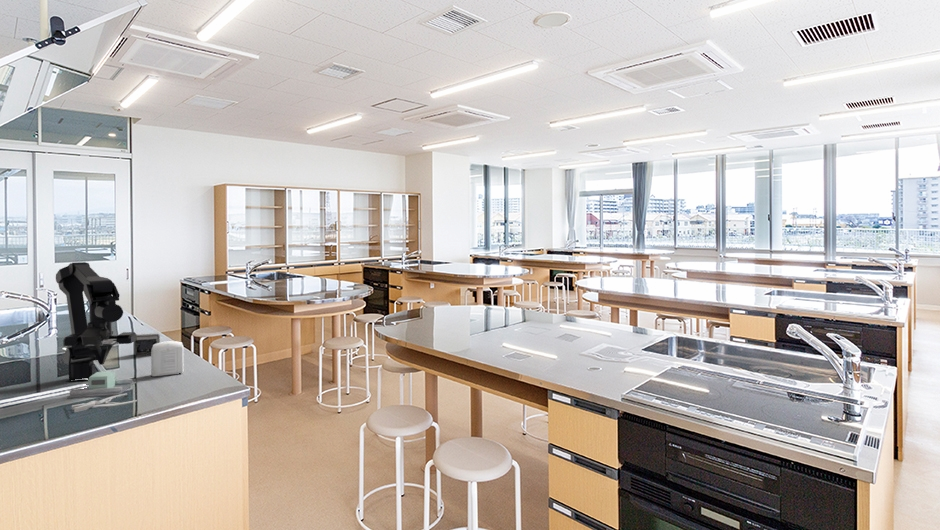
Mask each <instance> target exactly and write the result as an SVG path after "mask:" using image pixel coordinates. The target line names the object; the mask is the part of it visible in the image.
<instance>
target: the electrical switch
mask: <svg viewBox="0 0 940 530" xmlns="http://www.w3.org/2000/svg"><path fill="white" fill-rule="evenodd" d="M136 335H137V340H136V341H134V342H133V348H134V355H135V357H145V356H146V357H147V356H151V349H152V347H153V345H154V344H157V343H160V342H161V334H160V333H159V332H154V333H139V334H136Z"/></svg>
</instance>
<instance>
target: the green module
mask: <svg viewBox="0 0 940 530" xmlns="http://www.w3.org/2000/svg"><path fill="white" fill-rule="evenodd" d="M115 380H116V373H115V370H111V371H109V370H107V371H95V374H93V375H92V376H90V377H89V380H88V381H89V389H91V388H108V387H114V386H115Z"/></svg>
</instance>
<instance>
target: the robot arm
mask: <svg viewBox="0 0 940 530" xmlns="http://www.w3.org/2000/svg"><path fill="white" fill-rule="evenodd" d="M55 282H56V284H58V288H59V290H60V291H61V292H63V294H64V295H65V296H66V297H65V298H66V303H67V312H68V318H69V324H70V331H71V334H69V335H67V336H65V337H64V338H63V340H62V344H63V345H62V346H63V347H66V349H65V351H64V353H63V354H64V355H63V356H62V358H63V364H64V365H65V364H66V365H67V366H68V370H67V371H68V379H66V382H67V381H69V382H72V381H71V380H75V379H82V378H89V377H90V376H92V375H93V374H95V373H96V364H95V363H94V362H95V361H97V362H98V364H99V365H100V366H103V365H104V364H105V363H106V360H107V358H108V355H109V353H110V351H111V349H112V348H113V346H114V345H117V344H118V345H125V344H126V345H128V344H129V345H130V344H132V343H134V341H136V340H137V335H136V332H135V331H131V332H129V331H128V332H127V331H123V332H121V333H119V334H116V335H115V334H114V331H113V327H112V323H114V322H117V321H119V320H121V318H122V317H123V315H124V310H123V308H122V307H121V305H119V304H117V303H116V302H117V301H120V293H119V290H118V288H117V286H116V285H115V282H113V281H112V280H111V279H110V278H108V277H105V276H100V275H99V274H98V273H97V272H95V270H94V269H93V268H92V267H91V266H90V263H89V262H86V261H83V262H81V261H79V262H75V261H74V262H70V263H69V264H68V265H66V266H64V267H62V268H59V269H58V271H57V272H56V273H55ZM84 296H85V297H86V299H87V302H88V311H89V314H88V315H89V316H88V317H89V321H88V320H87V314H86V305H85V300H84Z"/></svg>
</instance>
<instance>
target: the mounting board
mask: <svg viewBox="0 0 940 530" xmlns="http://www.w3.org/2000/svg"><path fill="white" fill-rule="evenodd" d="M83 384H86V385H89V380H87V381H82V385H83ZM133 384H135V381H133V378H121V379H120V378H119V379H116V378H115V386H114V387H108V388H91V389H89V387H87V388H84V389H80V388H77V389H70V390H69V395H68V396H67V399H68V398H69V399H79V398H80V399H83V397H85V398H99V397H112V396H116V395H120V394H124V392H125V391H126V390H127V389H129V388H130V387H131V386H132V385H133Z"/></svg>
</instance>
